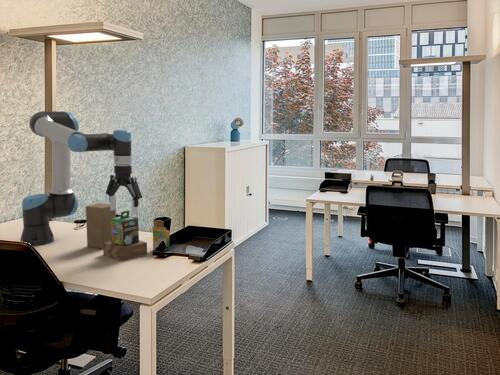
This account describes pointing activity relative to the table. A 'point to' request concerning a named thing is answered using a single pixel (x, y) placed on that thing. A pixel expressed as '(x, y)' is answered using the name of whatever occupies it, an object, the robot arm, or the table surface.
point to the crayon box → (160, 236)
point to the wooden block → (98, 224)
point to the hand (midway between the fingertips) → (123, 212)
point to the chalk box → (124, 229)
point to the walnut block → (124, 250)
